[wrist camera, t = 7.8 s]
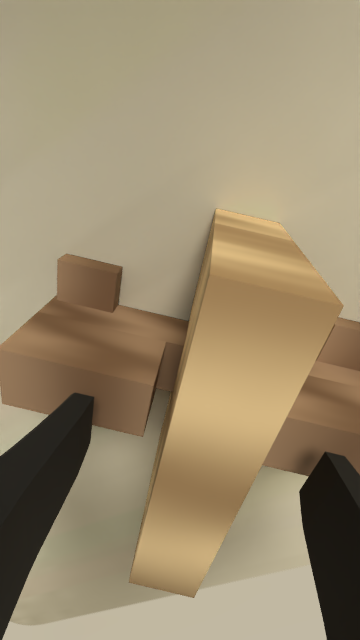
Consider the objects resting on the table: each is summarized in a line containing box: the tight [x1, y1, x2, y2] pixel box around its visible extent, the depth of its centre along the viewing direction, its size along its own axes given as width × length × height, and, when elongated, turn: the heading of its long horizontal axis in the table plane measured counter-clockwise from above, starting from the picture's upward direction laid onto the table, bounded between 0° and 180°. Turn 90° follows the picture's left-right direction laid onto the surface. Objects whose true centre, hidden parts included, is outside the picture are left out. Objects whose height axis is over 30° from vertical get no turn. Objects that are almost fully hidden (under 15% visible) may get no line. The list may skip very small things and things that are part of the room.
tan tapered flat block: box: [129, 209, 343, 598], centre depth 12 cm, size 12×2×7 cm, turn 169°
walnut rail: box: [0, 254, 360, 476], centre depth 13 cm, size 14×6×5 cm, turn 78°
